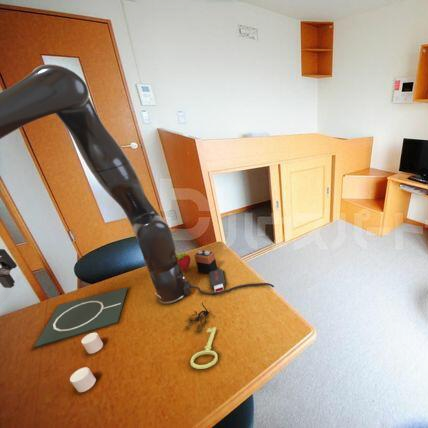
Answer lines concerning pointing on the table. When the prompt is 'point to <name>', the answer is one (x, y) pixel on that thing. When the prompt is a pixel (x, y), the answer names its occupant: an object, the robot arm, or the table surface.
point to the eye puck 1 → (92, 343)
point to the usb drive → (217, 280)
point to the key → (206, 352)
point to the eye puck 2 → (83, 379)
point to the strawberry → (183, 261)
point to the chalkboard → (83, 316)
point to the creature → (199, 317)
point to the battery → (205, 261)
